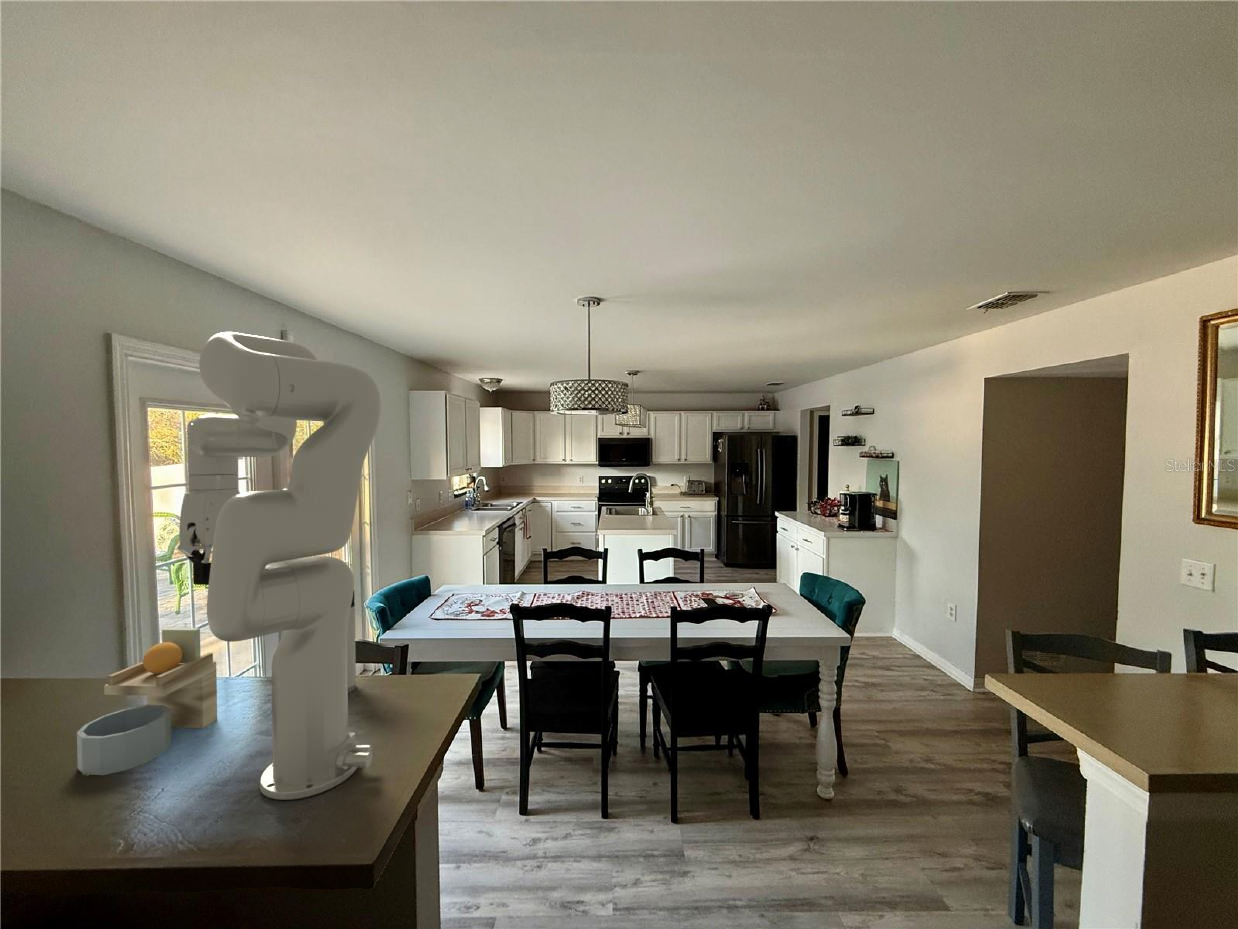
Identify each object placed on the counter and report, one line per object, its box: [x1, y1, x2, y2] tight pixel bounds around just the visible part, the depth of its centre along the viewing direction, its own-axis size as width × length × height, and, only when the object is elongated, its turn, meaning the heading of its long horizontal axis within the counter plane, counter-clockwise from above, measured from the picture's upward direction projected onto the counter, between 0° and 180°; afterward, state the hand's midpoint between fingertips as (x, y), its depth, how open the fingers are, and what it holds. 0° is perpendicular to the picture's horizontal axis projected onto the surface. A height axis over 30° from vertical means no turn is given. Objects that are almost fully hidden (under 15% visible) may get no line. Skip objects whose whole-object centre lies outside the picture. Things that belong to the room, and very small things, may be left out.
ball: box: [142, 642, 182, 674], centre depth 88 cm, size 5×5×5 cm
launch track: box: [103, 652, 218, 729], centre depth 88 cm, size 10×10×12 cm
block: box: [161, 627, 202, 663], centre depth 92 cm, size 6×2×6 cm, turn 88°
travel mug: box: [347, 590, 357, 694], centre depth 104 cm, size 6×7×20 cm
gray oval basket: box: [76, 704, 172, 776], centre depth 81 cm, size 10×10×6 cm
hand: (215, 579), depth 98 cm, fingers open, 4 cm apart
